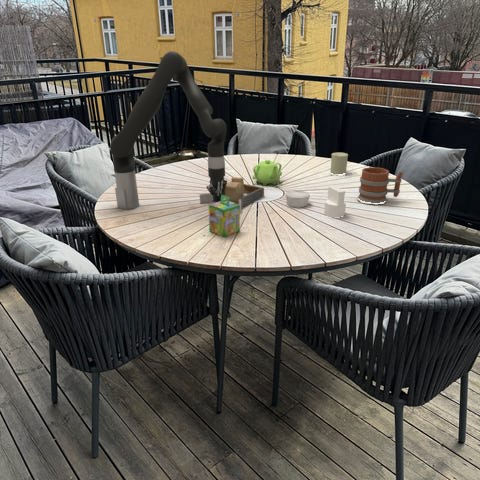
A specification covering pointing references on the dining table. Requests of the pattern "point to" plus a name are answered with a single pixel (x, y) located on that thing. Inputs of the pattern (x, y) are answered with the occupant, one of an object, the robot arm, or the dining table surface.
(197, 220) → the dining table surface
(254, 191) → the bay
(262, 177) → the teapot
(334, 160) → the can
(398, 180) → the mug
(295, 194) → the ramekin
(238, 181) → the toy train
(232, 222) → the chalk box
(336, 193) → the white stepped block
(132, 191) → the robot arm
